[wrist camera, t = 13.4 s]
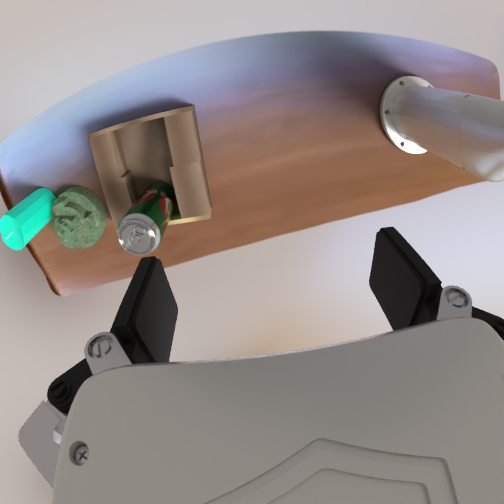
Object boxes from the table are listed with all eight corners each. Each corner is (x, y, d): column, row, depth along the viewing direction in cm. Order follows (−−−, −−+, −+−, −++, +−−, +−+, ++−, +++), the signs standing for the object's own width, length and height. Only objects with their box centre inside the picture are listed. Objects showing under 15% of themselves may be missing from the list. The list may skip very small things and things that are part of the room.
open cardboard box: (194, 105, 32) (189, 106, 28) (212, 206, 40) (209, 218, 36) (100, 129, 32) (87, 134, 28) (125, 221, 40) (117, 233, 36)
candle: (56, 188, 35) (14, 222, 25) (59, 220, 39) (23, 260, 28) (32, 186, 34) (-11, 217, 24) (35, 217, 38) (-2, 253, 27)
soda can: (140, 204, 38) (110, 247, 27) (152, 174, 35) (121, 209, 25) (170, 218, 39) (150, 265, 29) (184, 188, 37) (165, 229, 27)
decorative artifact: (89, 175, 35) (49, 200, 37) (67, 192, 29) (27, 219, 31) (117, 229, 41) (76, 247, 42) (101, 252, 35) (59, 270, 36)
